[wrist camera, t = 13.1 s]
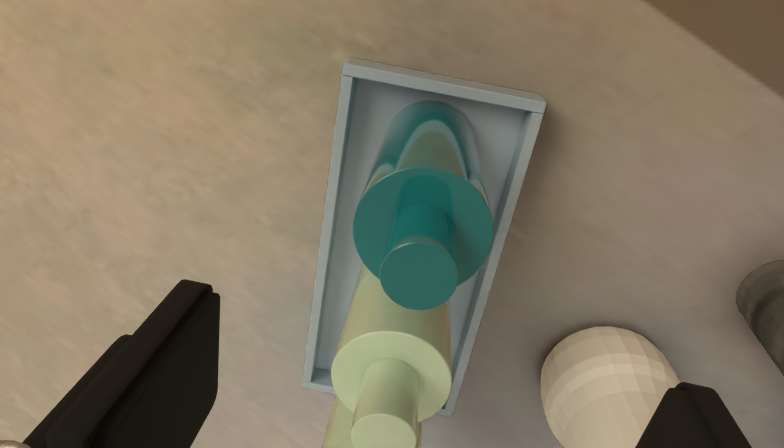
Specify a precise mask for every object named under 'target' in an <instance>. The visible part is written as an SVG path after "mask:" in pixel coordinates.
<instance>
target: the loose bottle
mask: <svg viewBox="0 0 784 448" xmlns="http://www.w3.org/2000/svg"><path fill="white" fill-rule="evenodd" d="M493 234H494V228H493V220H492V215H491V210H490V206H489V201H488V196H487V192H486V187H485V182H484V177H483V173H482V168H481V163H480V159H479V154H478V149H477V145H476V140H475V135H474V131H473V129H472V126H471V125H470V123H469V121H468V120H467V118H466V117H465V116H464V115H463V114H462V113H461V112H460V111H459V110H458V109H456V108H455V107H453V106H451V105H449V104H446V103H444V102H440V101H433V100H427V101H420V102H416V103H413V104H411V105H408V106H407V107H405V108H403V109H402V110H401V111H399V112H398V113H397V114H396V115H395V116H394V118H393V119H392V120H391V122H390V124H389V125H388V127H387V130H386V132H385V135H384V138H383V140H382V143H381V146H380V148H379V151H378V153H377V156H376V159H375V161H374V164H373V166H372V169H371V172H370V174H369V177H368V180H367V182H366V185H365V187H364V190H363V193H362V195H361V198H360V200H359V203H358V206H357V208H356V211H355V215H354V219H353V239H354V244H355V247H356V250H357V252H358V254H359V256H360V258H361V260H362V261H363V263H364V264H365V266H366V267H367V268H368V269H369V270H370V272H371V273H372V274H374V275H375V276H376V277H377V278H378V279H380V282H381V285H382V288H383V290H384V291H385V293H386V294H387V296H388V297H389V298H390V299H391V300H393V301H394V302H395V303H397V304H398V305H400V306H402V307H405V308H408V309H413V310H428V309H432V308H435V307H438V306H440V305H442V304H443V303H445V302H446V301H447V300H448V299H449V298H450V297H451V296H452V295H453V293H454V292H455V290H456V288H457V286H459V285H461V284H462V283H464V282H466V281H467V280H468V279H470V278H471V277H472V276H473V275H474V274H475V273H476V272H477V271H478V270H479V269H480V268H481V266H482V265H483V264H484V262H485V261H486V259H487V257H488V255H489V252H490V250H491V247H492V242H493Z"/></svg>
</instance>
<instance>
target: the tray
mask: <svg viewBox="0 0 784 448" xmlns="http://www.w3.org/2000/svg"><path fill="white" fill-rule="evenodd" d="M427 100H433V101H440V102H444V103H446V104H449V105H451V106H453V107H455V108H456V109H458V110H459V111H460V112H461V113H462V114H463V115H464V116H465V117H466V118H467V120H468V121H469V123H470V125H471V126H472V129H473V131H474V135H475V140H476V145H477V149H478V154H479V159H480V163H481V168H482V173H483V177H484V182H485V187H486V192H487V196H488V201H489V206H490V210H491V215H492V220H493V228H494V234H493V242H492V247H491V250H490V252H489V255H488V257H487V259H486V261H485V262H484V264H483V265H482V266H481V268H480V269H479V270H478V271H477V272H476V273H475V274H474V275H473V276H472V277H471V278H470V279H468V280H467V281H466V282H464V283H462V284H461V285H459V286H457V288H456V290H455V292H454V293H453V295H452V296H451V297H450V324H451V366H452V386H451V391H450V394H449V397H448V399H447V400H446V402H445V404H444V405H443V406H442V408H441V409H440V410H439V411H437V412H436V413H435V414H437V415H442V416H447V417H452V414H453V410H454V408H455V404H456V401H457V398H458V395H459V391H460V388H461V385H462V382H463V378H464V375H465V372H466V368H467V365H468V362H469V359H470V355H471V352H472V349H473V345H474V342H475V339H476V336H477V332H478V329H479V326H480V322H481V319H482V316H483V313H484V309H485V306H486V303H487V299H488V296H489V293H490V290H491V286H492V283H493V280H494V276H495V273H496V270H497V267H498V263H499V260H500V257H501V253H502V250H503V247H504V244H505V240H506V237H507V234H508V230H509V227H510V224H511V221H512V217H513V214H514V211H515V207H516V204H517V201H518V198H519V194H520V191H521V188H522V184H523V181H524V178H525V175H526V171H527V168H528V165H529V162H530V158H531V155H532V152H533V148H534V145H535V142H536V139H537V135H538V132H539V129H540V125H541V122H542V119H543V114H544V112H545V109H546V106H547V102H546V101H545V100H544V99H543V98H542V96H541V95H540V94H535V93H530V92H525V91H520V90H515V89H510V88H504V87H499V86H494V85H489V84H484V83H479V82H474V81H469V80H463V79H458V78H453V77H448V76H443V75H438V74H433V73H428V72H422V71H417V70H412V69H407V68H402V67H397V66H392V65H387V64H381V63H376V62H371V61H366V60H361V59H356V58H349V59H348V60H347V61H345V62H344V63H343V68H342V76H341V84H340V92H339V99H338V107H337V115H336V123H335V130H334V138H333V146H332V154H331V161H330V169H329V177H328V185H327V192H326V200H325V208H324V215H323V223H322V231H321V239H320V246H319V254H318V262H317V270H316V277H315V285H314V293H313V301H312V308H311V316H310V324H309V332H308V339H307V347H306V355H305V362H304V370H303V378H302V386H301V387H302V388H306V389H311V390H316V391H321V392H326V393H331V394H336V393H335V390H334V388H333V384H332V381H331V368H332V364H333V360H334V357H335V353H336V350H337V346H338V343H339V339H340V336H341V332H342V329H343V326H344V322H345V319H346V315H347V312H348V308H349V305H350V301H351V298H352V294H353V291H354V288H355V284H356V281H357V277H358V274H359V270H360V267H361V263H362V260H361V258H360V256H359V254H358V252H357V250H356V247H355V244H354V239H353V219H354V215H355V211H356V208H357V206H358V203H359V200H360V198H361V195H362V193H363V190H364V187H365V185H366V182H367V180H368V177H369V174H370V172H371V169H372V166H373V164H374V161H375V159H376V156H377V153H378V151H379V148H380V146H381V143H382V140H383V138H384V135H385V132H386V130H387V127H388V125H389V124H390V122H391V120H392V119H393V118H394V116H395V115H396V114H397V113H398V112H399V111H401V110H402V109H403V108H405V107H407V106H408V105H411V104H413V103H416V102H420V101H427Z"/></svg>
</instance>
